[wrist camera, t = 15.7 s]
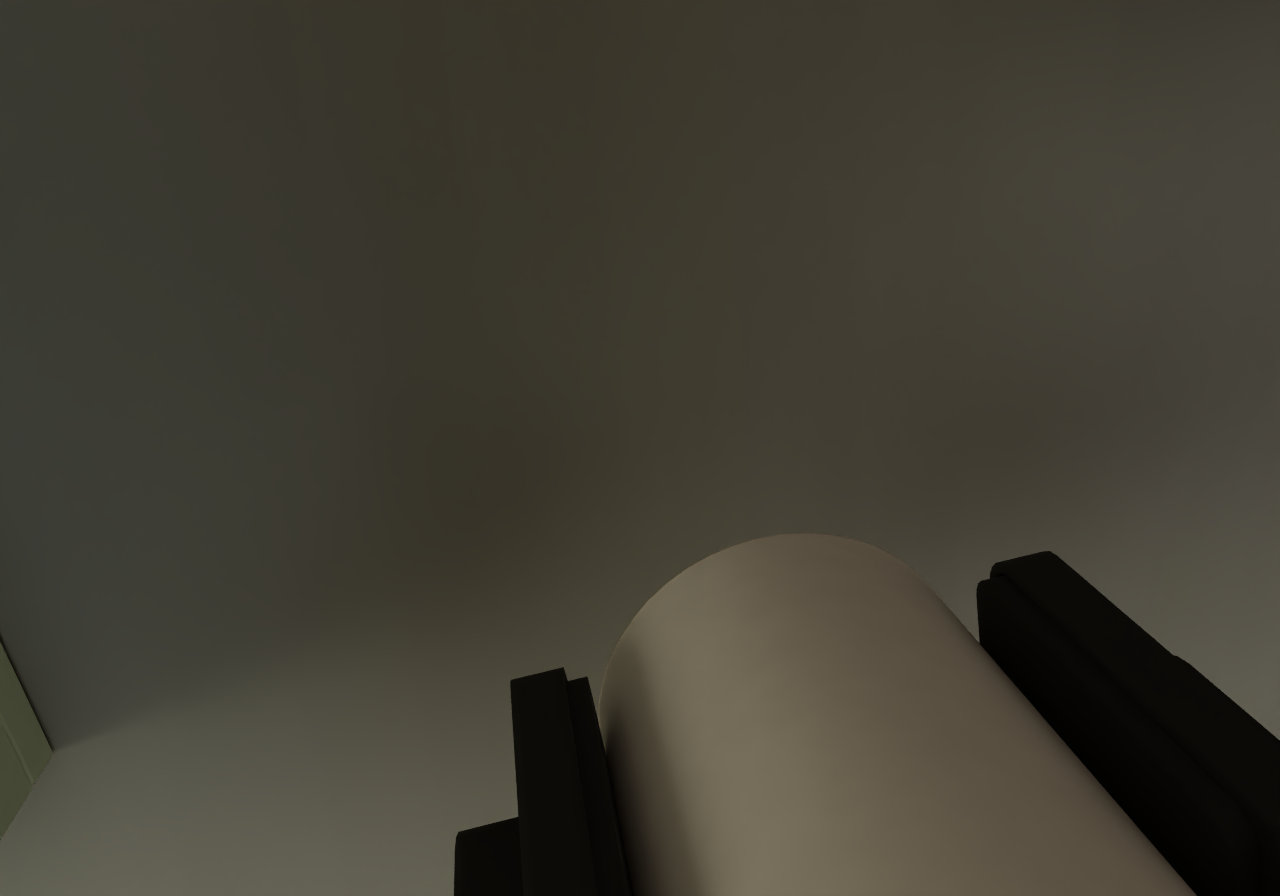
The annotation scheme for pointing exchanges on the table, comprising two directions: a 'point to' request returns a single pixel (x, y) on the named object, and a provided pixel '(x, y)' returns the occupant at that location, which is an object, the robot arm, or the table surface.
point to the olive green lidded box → (17, 744)
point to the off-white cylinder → (843, 744)
